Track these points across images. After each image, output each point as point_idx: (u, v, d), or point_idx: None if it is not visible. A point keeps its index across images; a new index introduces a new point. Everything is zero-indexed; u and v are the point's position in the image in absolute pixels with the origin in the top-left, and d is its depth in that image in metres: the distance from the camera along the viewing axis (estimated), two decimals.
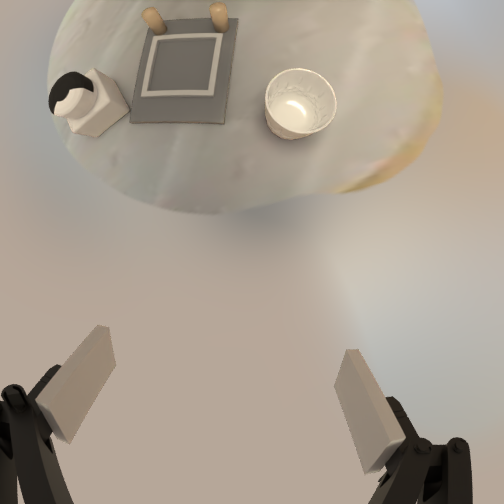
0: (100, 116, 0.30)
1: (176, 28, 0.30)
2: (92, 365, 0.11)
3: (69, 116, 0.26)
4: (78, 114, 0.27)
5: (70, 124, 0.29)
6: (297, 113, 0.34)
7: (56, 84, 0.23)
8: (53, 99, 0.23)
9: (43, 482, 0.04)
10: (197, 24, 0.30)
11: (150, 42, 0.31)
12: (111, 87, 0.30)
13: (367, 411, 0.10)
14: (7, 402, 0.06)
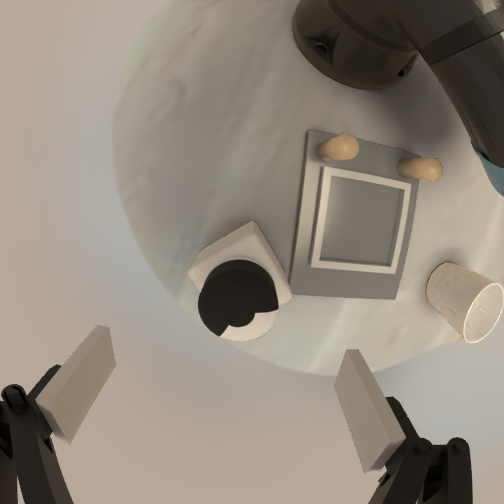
0: None
1: None
2: (92, 365, 0.11)
3: None
4: None
5: None
6: None
7: (217, 292, 0.19)
8: (217, 319, 0.20)
9: (43, 482, 0.04)
10: (377, 155, 0.27)
11: (314, 171, 0.27)
12: (271, 253, 0.27)
13: (367, 411, 0.10)
14: (7, 402, 0.06)
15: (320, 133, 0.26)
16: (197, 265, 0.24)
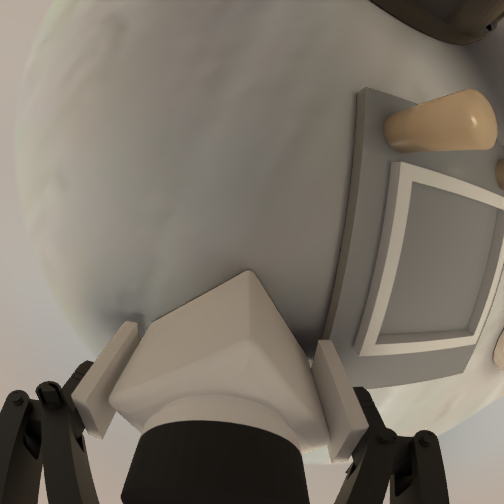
0: None
1: None
2: (123, 360, 0.12)
3: None
4: None
5: None
6: None
7: None
8: None
9: (72, 481, 0.05)
10: None
11: (378, 171, 0.12)
12: (288, 349, 0.12)
13: (334, 399, 0.11)
14: (41, 398, 0.07)
15: (386, 96, 0.11)
16: (124, 393, 0.09)
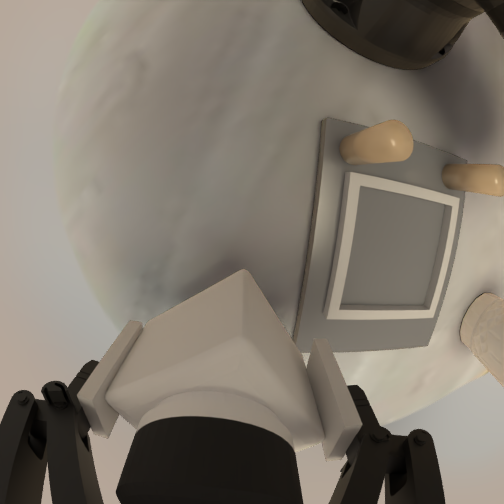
0: None
1: None
2: None
3: None
4: None
5: None
6: None
7: None
8: None
9: (76, 482, 0.05)
10: (418, 157, 0.18)
11: (335, 179, 0.18)
12: (282, 347, 0.12)
13: (328, 397, 0.11)
14: (47, 398, 0.07)
15: (342, 123, 0.17)
16: (120, 390, 0.09)
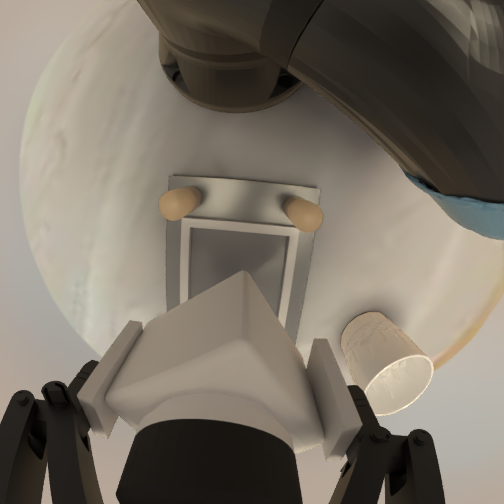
0: None
1: (218, 199, 0.25)
2: None
3: None
4: None
5: None
6: None
7: None
8: None
9: (76, 481, 0.05)
10: (253, 195, 0.25)
11: (176, 222, 0.25)
12: (282, 349, 0.12)
13: (328, 397, 0.11)
14: (47, 398, 0.07)
15: (181, 178, 0.24)
16: (120, 392, 0.09)
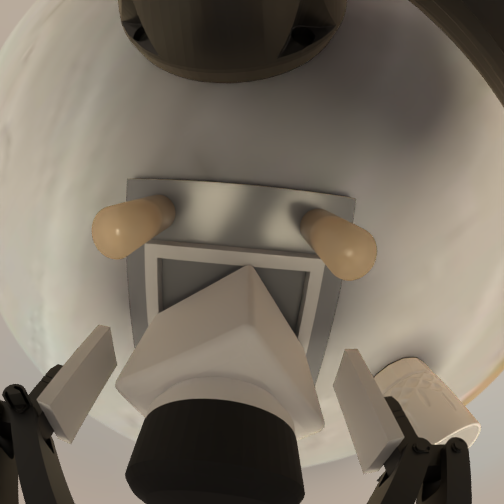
0: None
1: (199, 214, 0.16)
2: (93, 365, 0.11)
3: None
4: None
5: None
6: None
7: (159, 492, 0.05)
8: None
9: (44, 481, 0.04)
10: (254, 208, 0.16)
11: (140, 248, 0.17)
12: (285, 338, 0.13)
13: (366, 410, 0.10)
14: (8, 402, 0.06)
15: (144, 182, 0.15)
16: (131, 377, 0.10)
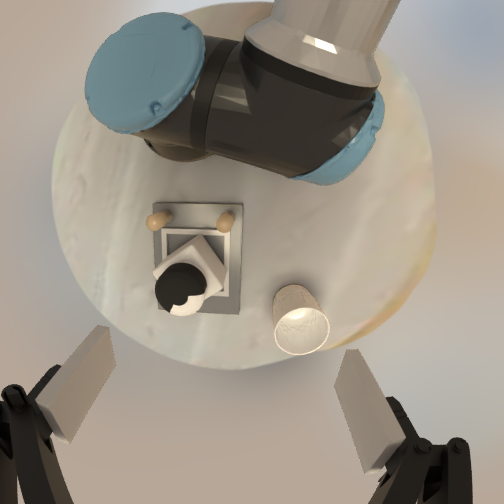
0: None
1: (182, 216, 0.41)
2: (92, 365, 0.11)
3: None
4: None
5: None
6: None
7: (164, 283, 0.31)
8: (166, 300, 0.31)
9: (43, 482, 0.04)
10: (202, 212, 0.41)
11: (159, 231, 0.42)
12: (210, 257, 0.38)
13: (367, 411, 0.10)
14: (7, 402, 0.06)
15: (159, 204, 0.41)
16: (158, 267, 0.35)
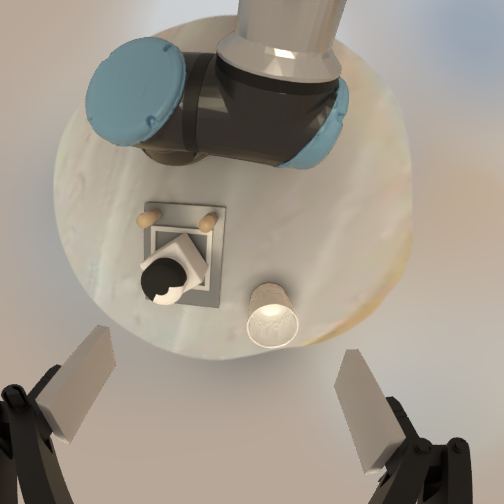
0: None
1: (170, 215, 0.45)
2: (92, 365, 0.11)
3: None
4: None
5: None
6: None
7: (149, 275, 0.34)
8: (150, 290, 0.35)
9: (43, 482, 0.04)
10: (188, 213, 0.45)
11: (149, 228, 0.46)
12: (192, 254, 0.42)
13: (367, 411, 0.10)
14: (7, 402, 0.06)
15: (150, 204, 0.45)
16: (145, 261, 0.39)
